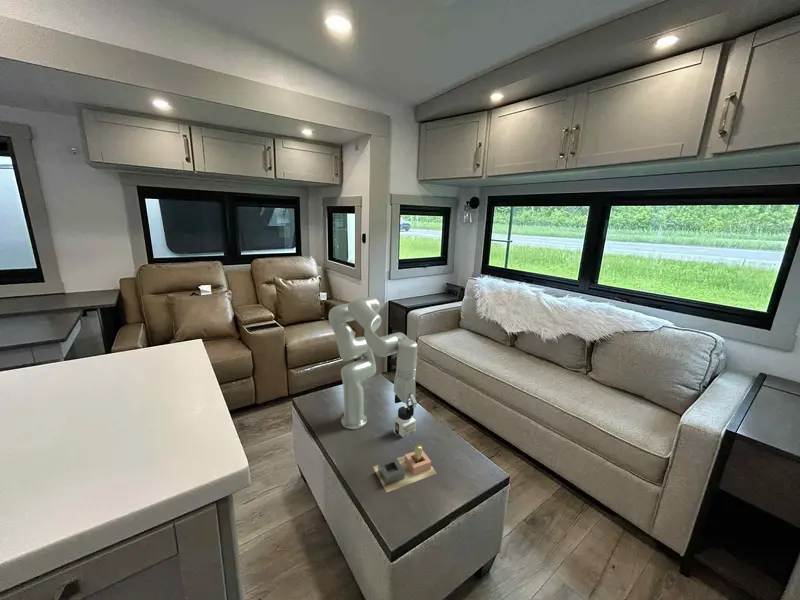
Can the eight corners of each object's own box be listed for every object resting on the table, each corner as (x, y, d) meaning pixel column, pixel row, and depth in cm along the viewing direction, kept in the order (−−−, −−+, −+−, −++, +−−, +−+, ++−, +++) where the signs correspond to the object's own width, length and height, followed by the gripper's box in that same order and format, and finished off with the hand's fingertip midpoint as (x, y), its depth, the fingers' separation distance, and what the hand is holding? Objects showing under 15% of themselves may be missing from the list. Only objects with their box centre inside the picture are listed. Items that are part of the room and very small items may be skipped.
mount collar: (377, 470, 132) (377, 463, 131) (395, 464, 136) (396, 457, 135) (385, 485, 125) (385, 478, 124) (404, 478, 129) (404, 471, 128)
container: (403, 440, 152) (404, 416, 148) (392, 431, 158) (393, 408, 154) (415, 433, 157) (416, 410, 153) (405, 425, 162) (406, 402, 159)
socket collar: (404, 461, 137) (404, 454, 136) (421, 455, 141) (421, 448, 140) (413, 475, 130) (413, 468, 129) (431, 468, 134) (431, 461, 133)
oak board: (372, 469, 135) (372, 466, 134) (419, 453, 144) (419, 450, 144) (386, 495, 123) (386, 492, 122) (436, 476, 132) (437, 473, 132)
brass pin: (412, 463, 136) (413, 445, 134) (418, 461, 138) (419, 443, 135) (416, 468, 134) (417, 450, 131) (422, 466, 135) (423, 448, 132)
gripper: (387, 362, 133) (386, 399, 138) (408, 384, 118) (405, 424, 123) (404, 359, 136) (402, 395, 141) (426, 380, 121) (422, 419, 127)
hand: (403, 409), depth 132 cm, fingers open, 9 cm apart
